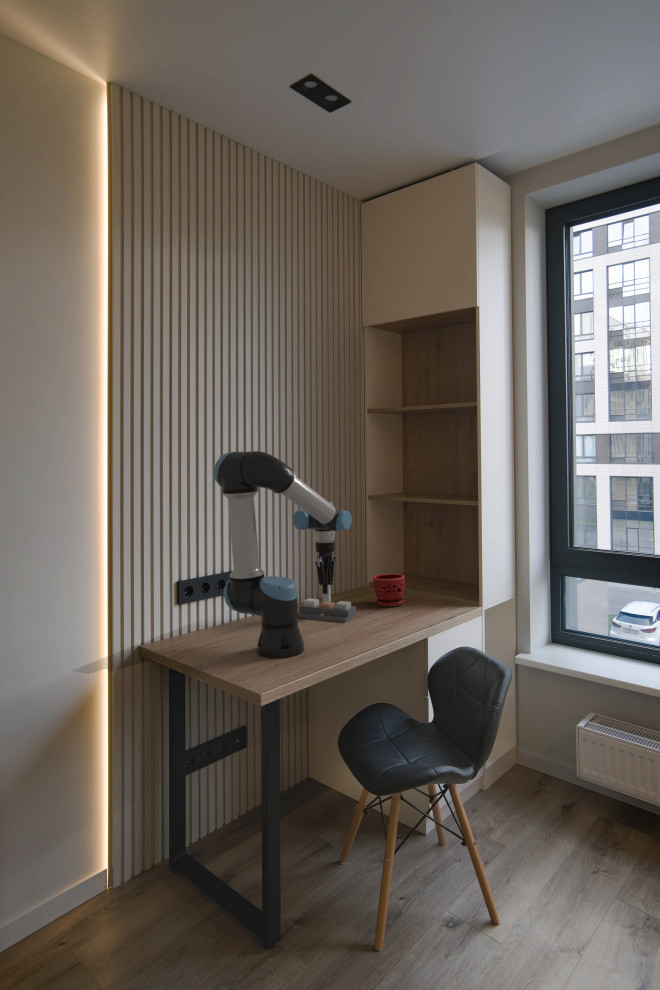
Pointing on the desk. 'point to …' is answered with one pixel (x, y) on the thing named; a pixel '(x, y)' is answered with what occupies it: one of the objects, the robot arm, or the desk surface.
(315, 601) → the ivory key
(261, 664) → the desk surface
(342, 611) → the key console
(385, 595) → the plant pot
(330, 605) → the terracotta key
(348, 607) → the sage key
